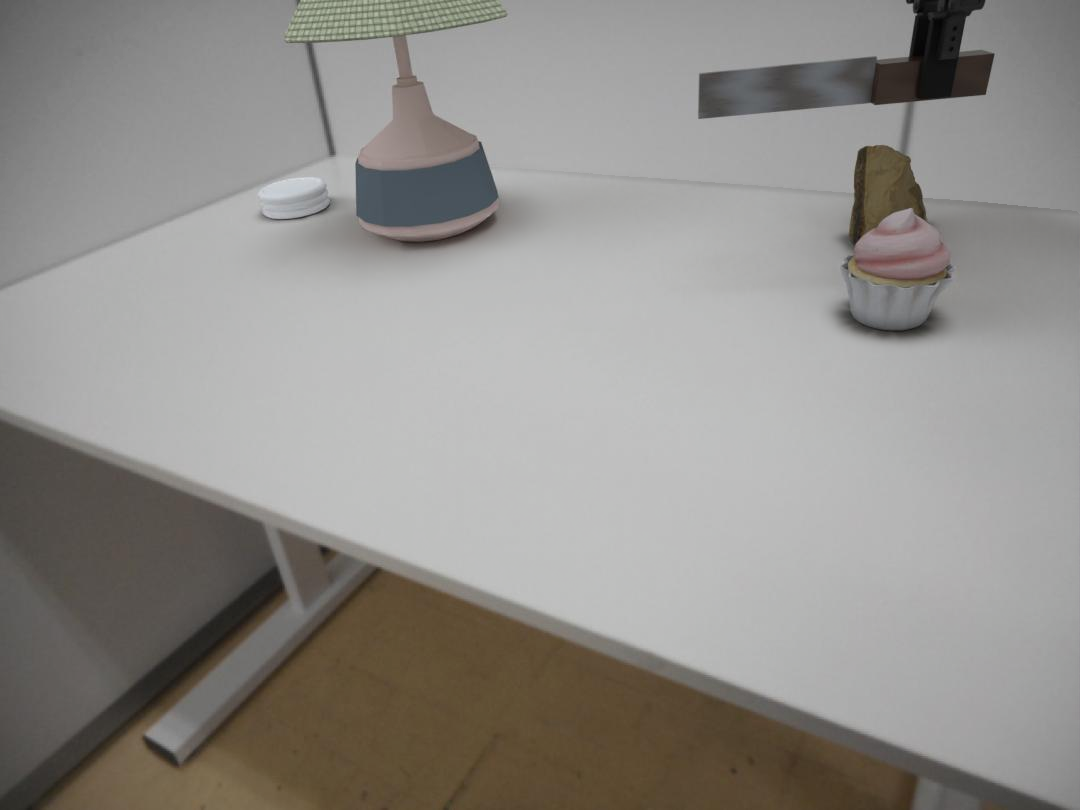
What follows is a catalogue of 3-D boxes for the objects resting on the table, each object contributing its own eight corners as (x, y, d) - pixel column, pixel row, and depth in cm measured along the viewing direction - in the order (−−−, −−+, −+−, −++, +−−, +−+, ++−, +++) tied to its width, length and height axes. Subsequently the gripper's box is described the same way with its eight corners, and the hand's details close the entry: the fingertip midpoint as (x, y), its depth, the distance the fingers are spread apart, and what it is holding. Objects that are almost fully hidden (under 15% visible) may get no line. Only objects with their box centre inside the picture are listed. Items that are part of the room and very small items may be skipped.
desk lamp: (573, 214, 99) (546, -180, 76) (389, 282, 84) (290, -178, 62) (463, 182, 116) (415, -146, 94) (294, 235, 102) (190, -138, 79)
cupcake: (923, 351, 62) (948, 235, 56) (815, 323, 67) (829, 216, 62) (961, 309, 67) (987, 200, 62) (859, 287, 73) (874, 185, 68)
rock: (913, 191, 88) (830, 188, 87) (955, 142, 80) (864, 138, 79) (929, 272, 84) (842, 268, 83) (974, 228, 76) (879, 224, 75)
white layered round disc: (311, 194, 118) (305, 172, 116) (342, 205, 112) (337, 182, 110) (252, 212, 113) (245, 189, 111) (281, 225, 106) (274, 200, 104)
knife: (973, 90, 70) (983, 43, 68) (985, 95, 68) (996, 47, 66) (696, 116, 72) (697, 71, 69) (700, 121, 70) (701, 75, 67)
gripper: (893, -212, 63) (856, 83, 76) (983, -249, 50) (920, 115, 63) (983, -223, 63) (931, 76, 76) (1098, -263, 50) (1011, 106, 63)
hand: (926, 93), depth 69 cm, fingers closed on knife, 2 cm apart
